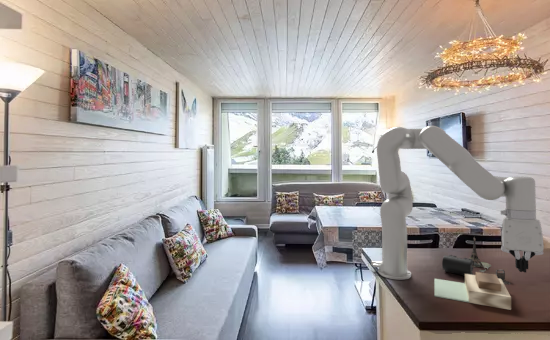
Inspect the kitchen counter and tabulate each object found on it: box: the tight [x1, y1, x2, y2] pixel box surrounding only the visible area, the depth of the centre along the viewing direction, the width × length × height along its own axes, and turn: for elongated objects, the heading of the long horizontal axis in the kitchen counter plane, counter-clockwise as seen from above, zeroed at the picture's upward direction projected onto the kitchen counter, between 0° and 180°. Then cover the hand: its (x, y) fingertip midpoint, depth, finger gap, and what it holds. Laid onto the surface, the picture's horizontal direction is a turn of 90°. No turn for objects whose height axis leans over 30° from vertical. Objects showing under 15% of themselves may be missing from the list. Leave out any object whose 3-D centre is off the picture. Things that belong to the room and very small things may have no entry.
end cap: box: [441, 254, 475, 277], centre depth 122 cm, size 10×7×7 cm
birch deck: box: [464, 274, 512, 311], centre depth 102 cm, size 11×16×4 cm
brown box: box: [475, 271, 501, 292], centre depth 102 cm, size 6×9×2 cm, turn 152°
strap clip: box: [495, 269, 511, 285], centre depth 115 cm, size 8×3×4 cm, turn 172°
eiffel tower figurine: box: [468, 236, 492, 273], centre depth 131 cm, size 15×10×13 cm
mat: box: [433, 278, 469, 303], centre depth 107 cm, size 10×16×1 cm, turn 152°
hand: (521, 270), depth 97 cm, fingers closed
